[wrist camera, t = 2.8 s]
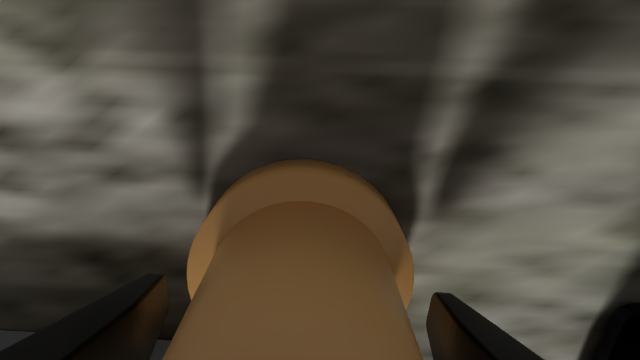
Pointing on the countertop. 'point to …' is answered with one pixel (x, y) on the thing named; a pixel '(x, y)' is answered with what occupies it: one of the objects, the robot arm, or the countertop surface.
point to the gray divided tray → (7, 338)
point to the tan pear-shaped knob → (298, 271)
